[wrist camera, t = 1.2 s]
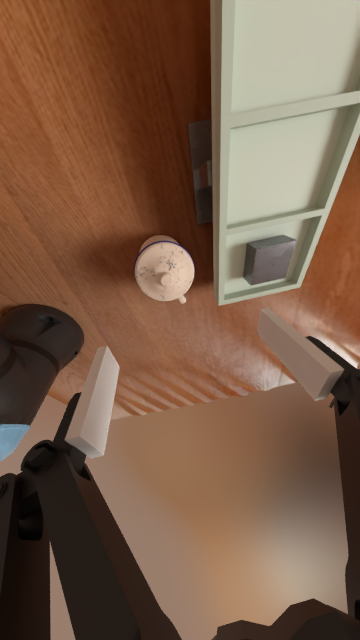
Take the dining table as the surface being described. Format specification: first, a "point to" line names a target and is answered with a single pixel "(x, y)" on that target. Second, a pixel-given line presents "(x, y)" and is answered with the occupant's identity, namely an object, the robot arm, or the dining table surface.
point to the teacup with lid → (164, 269)
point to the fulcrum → (201, 168)
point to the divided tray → (279, 128)
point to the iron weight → (268, 259)
